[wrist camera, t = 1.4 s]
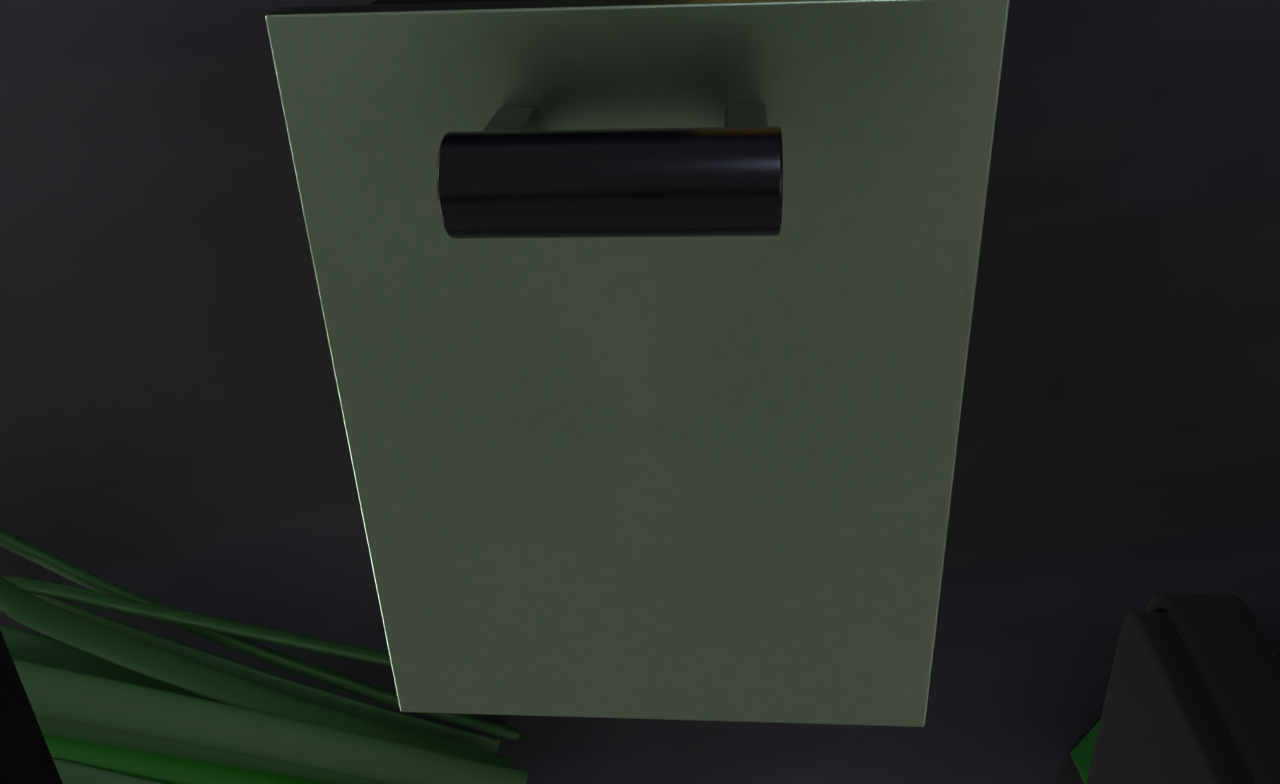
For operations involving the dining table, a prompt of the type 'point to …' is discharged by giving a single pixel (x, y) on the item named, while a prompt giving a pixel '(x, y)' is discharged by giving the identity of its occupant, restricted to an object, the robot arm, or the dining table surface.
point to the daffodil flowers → (214, 700)
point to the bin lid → (650, 339)
